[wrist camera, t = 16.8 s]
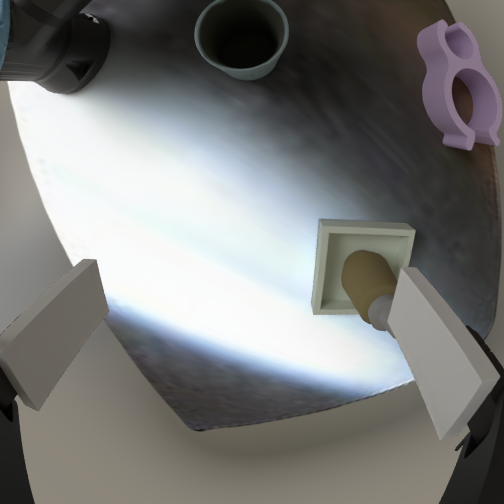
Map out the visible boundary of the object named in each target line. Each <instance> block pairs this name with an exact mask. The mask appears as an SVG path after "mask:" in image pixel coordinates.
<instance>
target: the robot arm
mask: <svg viewBox="0 0 504 504" xmlns="http://www.w3.org/2000/svg"><path fill="white" fill-rule="evenodd" d="M91 1H92V0H0V81H34V82H35V83H37V84H38V85H40V86H42V87H43V88H45V89H46V90H48V91H50V92H53V93H61V94H67V93H72V92H75V91H77V90H79V89H81V88H82V87H84V86H85V85H86V84H88V83H89V82H90V81H91V80H92V79H93V78H94V77H95V75H96V74H97V73H98V71H99V70H100V68H101V67H102V65H103V63H104V61H105V59H106V56H107V53H108V50H109V44H110V34H109V30H108V27H107V25H106V24H105V22H104V21H103V20H102V19H100V18H98V17H96V16H94V15H92V14H87V13H79V12H80V11H81V10H82V9H83V8H84V7H86V6H87V5H88V4H89V3H90V2H91ZM108 312H109V308H108V305H107V301H106V297H105V294H104V290H103V286H102V282H101V278H100V273H99V269H98V265H97V260H95V259H83V260H82V261H80V262H79V263H78V264H77V265H76V266H74V267H73V268H72V269H71V270H70V271H69V272H67V273H66V274H65V275H64V276H63V277H62V278H60V279H59V280H58V281H57V282H56V283H55V284H54V285H52V286H51V287H50V288H49V289H48V290H47V291H46V292H45V293H44V294H43V295H41V296H40V297H39V298H38V299H37V300H36V301H35V302H34V303H33V304H32V305H31V306H30V307H28V308H27V309H26V310H25V311H24V312H23V313H22V314H21V315H20V316H19V317H17V318H16V320H14V322H12V324H10V325H9V326H8V327H7V329H6V330H4V331H3V333H2V334H1V335H0V504H35V503H34V499H33V495H32V492H31V488H30V484H29V479H28V475H27V470H26V465H25V460H24V454H23V448H22V441H21V433H20V424H19V414H18V405H17V402H16V401H15V399H14V398H15V397H16V395H17V394H18V396H19V397H20V398H21V400H22V401H23V403H24V404H25V405H26V406H28V407H30V408H32V409H34V410H37V411H39V410H40V408H41V407H42V405H43V404H44V402H45V401H46V399H47V397H48V396H49V394H50V393H51V391H52V390H53V388H54V387H55V385H56V384H57V382H58V381H59V379H60V378H61V377H62V375H63V374H64V372H65V371H66V369H67V368H68V366H69V365H70V364H71V362H72V361H73V359H74V358H75V356H76V355H77V354H78V352H79V351H80V349H81V348H82V347H83V345H84V344H85V343H86V341H87V340H88V338H89V337H90V336H91V335H92V333H93V332H94V330H95V329H96V328H97V326H98V325H99V324H100V323H101V321H102V320H103V319H104V317H105V316H106V315H107V313H108ZM387 322H388V324H389V326H390V328H391V330H392V332H393V334H394V336H395V338H396V340H397V342H398V344H399V346H400V348H401V350H402V352H403V354H404V357H405V359H406V361H407V363H408V365H409V367H410V369H411V372H412V374H413V376H414V378H415V381H416V383H417V385H418V387H419V390H420V392H421V394H422V397H423V399H424V401H425V404H426V406H427V409H428V411H429V414H430V416H431V419H432V421H433V423H434V426H435V429H436V431H437V434H438V436H439V439H440V441H441V440H444V439H447V438H451V437H454V436H457V435H458V434H459V433H460V432H461V431H462V430H463V429H464V427H465V426H466V425H468V427H469V429H470V432H469V433H468V434H467V435H466V436H465V438H464V439H463V440H462V441H461V442H460V444H459V445H458V446H457V447H456V449H455V451H458V450H459V449H460V447H461V446H462V445H463V447H462V450H461V453H460V455H459V458H458V461H457V463H456V466H455V468H454V471H453V474H452V476H451V478H450V481H449V483H448V485H447V487H446V490H445V492H444V494H443V496H442V498H441V500H440V502H439V504H504V369H503V367H502V365H501V364H500V363H499V361H498V360H497V358H496V357H495V355H494V354H493V353H492V352H490V349H489V347H488V346H487V345H486V344H485V342H484V340H483V339H482V338H481V336H480V335H479V334H478V333H477V332H476V331H474V330H473V329H472V328H470V327H469V326H464V324H463V323H462V322H461V320H460V319H459V318H458V317H457V315H456V314H455V313H454V312H453V310H452V309H451V308H450V307H449V305H448V304H447V303H446V302H445V300H444V299H443V298H442V297H441V296H440V294H439V293H438V292H437V291H436V290H435V288H434V287H433V286H432V285H431V284H430V283H429V281H428V280H427V279H426V278H425V277H424V276H423V275H422V274H421V272H420V271H419V270H418V269H417V268H416V267H401V269H400V274H399V278H398V282H397V287H396V291H395V295H394V299H393V302H392V306H391V310H390V314H389V317H388V321H387Z"/></svg>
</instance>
